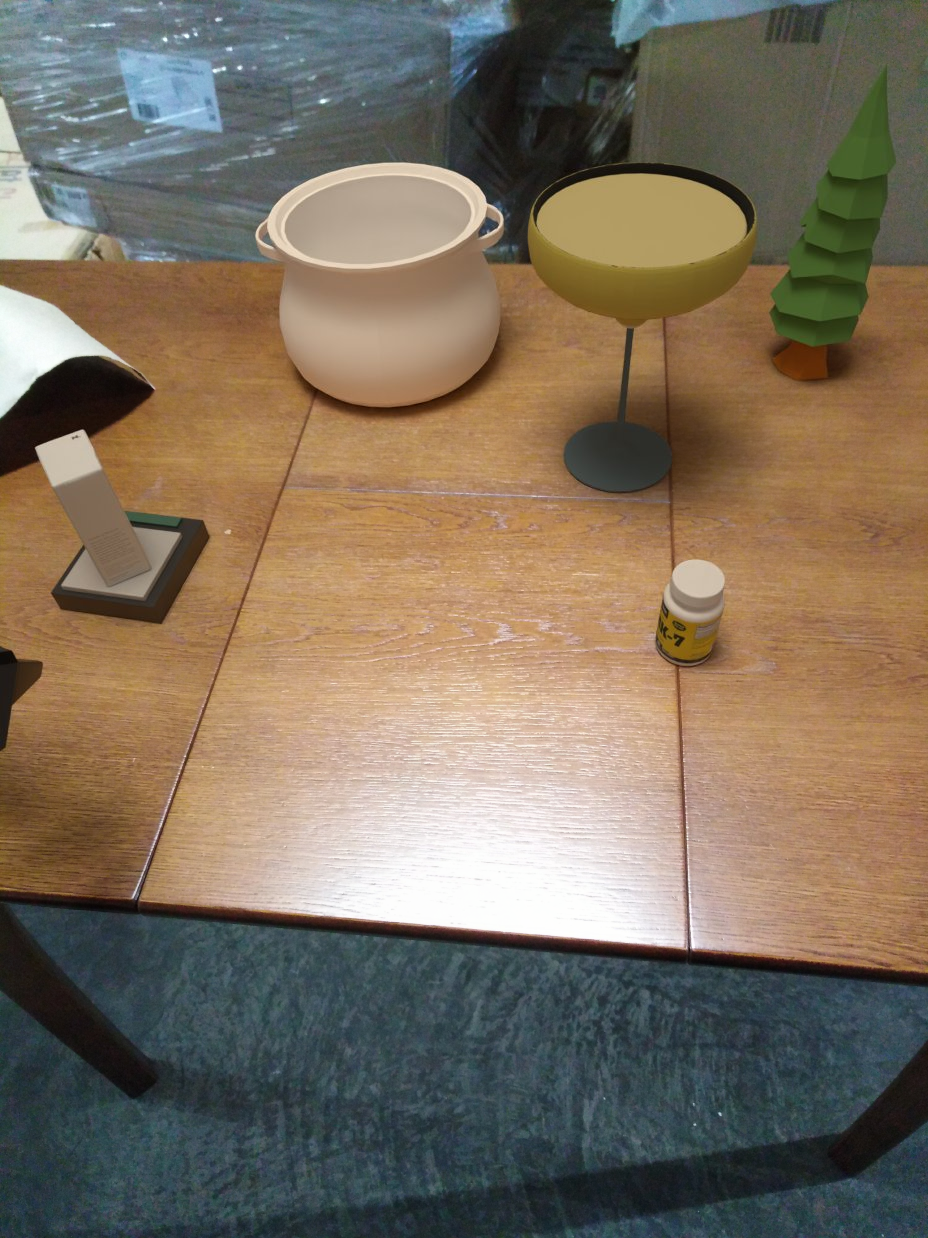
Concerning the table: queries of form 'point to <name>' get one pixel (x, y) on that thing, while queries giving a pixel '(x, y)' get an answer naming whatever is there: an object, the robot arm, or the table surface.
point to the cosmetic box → (93, 507)
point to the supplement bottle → (691, 613)
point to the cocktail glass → (637, 278)
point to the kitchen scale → (147, 593)
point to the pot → (385, 281)
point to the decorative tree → (836, 244)
